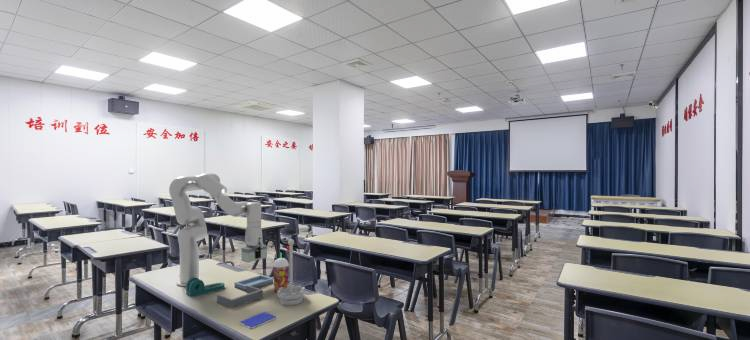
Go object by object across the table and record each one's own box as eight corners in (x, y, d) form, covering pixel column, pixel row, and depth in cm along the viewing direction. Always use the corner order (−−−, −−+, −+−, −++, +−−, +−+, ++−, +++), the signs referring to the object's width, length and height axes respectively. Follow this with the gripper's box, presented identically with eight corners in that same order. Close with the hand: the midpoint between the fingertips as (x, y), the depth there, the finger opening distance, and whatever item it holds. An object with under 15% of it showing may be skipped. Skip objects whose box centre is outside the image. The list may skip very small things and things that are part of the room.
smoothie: (271, 289, 187) (271, 251, 187) (287, 287, 191) (287, 250, 190) (273, 294, 180) (273, 255, 179) (290, 292, 183) (290, 253, 183)
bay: (216, 301, 169) (216, 294, 169) (247, 291, 183) (247, 285, 183) (231, 308, 162) (231, 300, 162) (262, 297, 176) (262, 290, 176)
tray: (234, 287, 190) (234, 282, 190) (261, 279, 204) (261, 274, 204) (246, 291, 184) (246, 286, 184) (273, 282, 197) (273, 278, 197)
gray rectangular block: (241, 260, 191) (241, 247, 191) (260, 256, 200) (260, 244, 200) (248, 262, 187) (248, 249, 187) (266, 257, 197) (266, 245, 197)
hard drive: (264, 311, 156) (239, 321, 146) (276, 315, 151) (251, 326, 141) (264, 314, 156) (239, 325, 146) (276, 319, 151) (251, 330, 141)
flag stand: (310, 300, 171) (310, 239, 171) (286, 308, 162) (286, 243, 162) (295, 293, 181) (295, 235, 180) (272, 300, 172) (272, 239, 171)
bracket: (190, 297, 176) (190, 281, 175) (186, 294, 180) (185, 278, 180) (226, 288, 188) (226, 274, 188) (221, 285, 193) (221, 271, 193)
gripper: (238, 224, 196) (239, 256, 196) (257, 227, 185) (258, 261, 186) (250, 222, 202) (250, 253, 202) (269, 225, 192) (269, 258, 192)
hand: (254, 256), depth 194 cm, fingers closed on gray rectangular block, 6 cm apart
